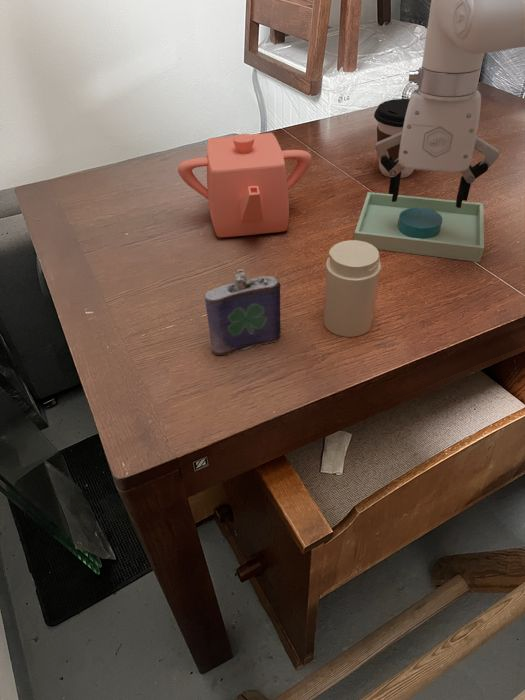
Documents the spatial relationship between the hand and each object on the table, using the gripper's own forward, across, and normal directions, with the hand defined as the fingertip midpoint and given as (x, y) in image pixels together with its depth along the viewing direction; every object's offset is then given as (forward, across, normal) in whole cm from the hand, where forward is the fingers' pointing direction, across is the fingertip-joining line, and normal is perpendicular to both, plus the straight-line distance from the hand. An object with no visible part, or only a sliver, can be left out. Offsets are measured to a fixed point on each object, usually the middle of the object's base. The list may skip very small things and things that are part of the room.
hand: (426, 201), depth 79 cm
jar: (+6, -8, -25) cm, 27 cm away
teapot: (+6, -28, -4) cm, 29 cm away
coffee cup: (+5, -6, +22) cm, 24 cm away
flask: (+6, -19, -32) cm, 38 cm away
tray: (+6, 0, 0) cm, 6 cm away
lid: (+4, 0, +1) cm, 4 cm away
